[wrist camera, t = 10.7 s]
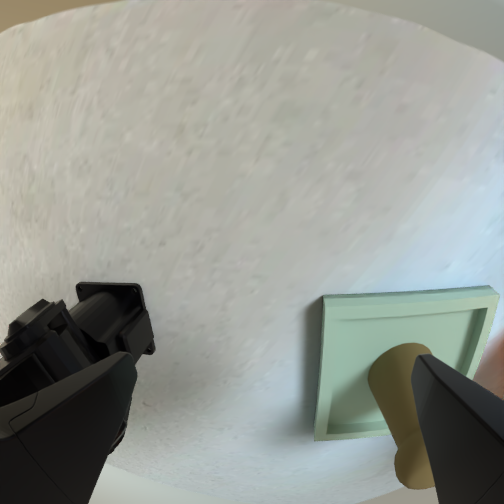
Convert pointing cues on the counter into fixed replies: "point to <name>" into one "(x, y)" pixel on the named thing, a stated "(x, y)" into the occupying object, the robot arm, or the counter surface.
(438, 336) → the tray
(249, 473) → the counter surface
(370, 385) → the cork
